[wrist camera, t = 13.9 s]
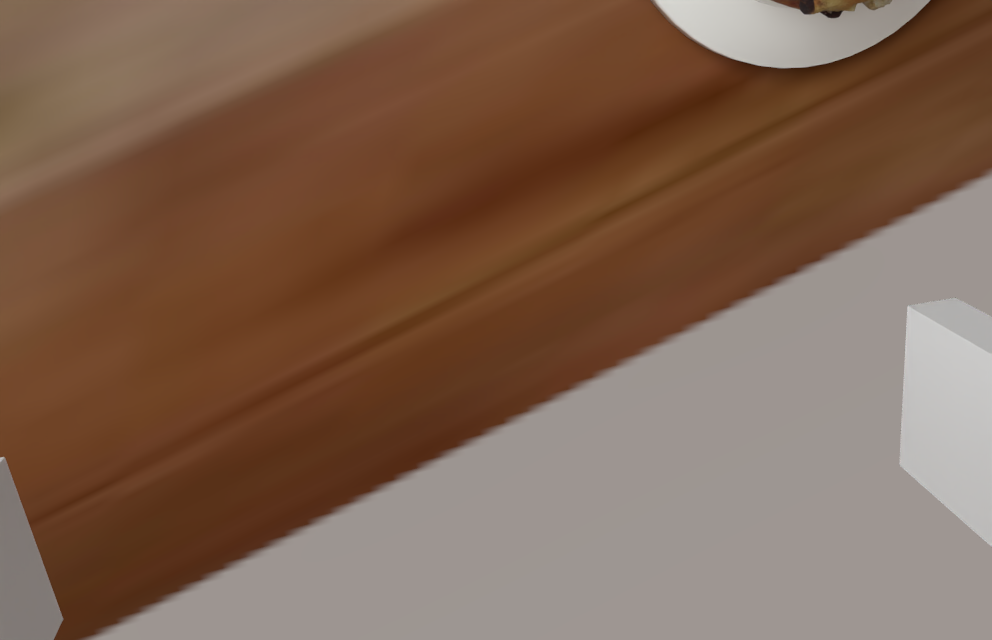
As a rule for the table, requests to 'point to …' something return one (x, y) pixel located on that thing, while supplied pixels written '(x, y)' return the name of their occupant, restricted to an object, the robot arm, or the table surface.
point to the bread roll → (831, 6)
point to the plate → (783, 29)
